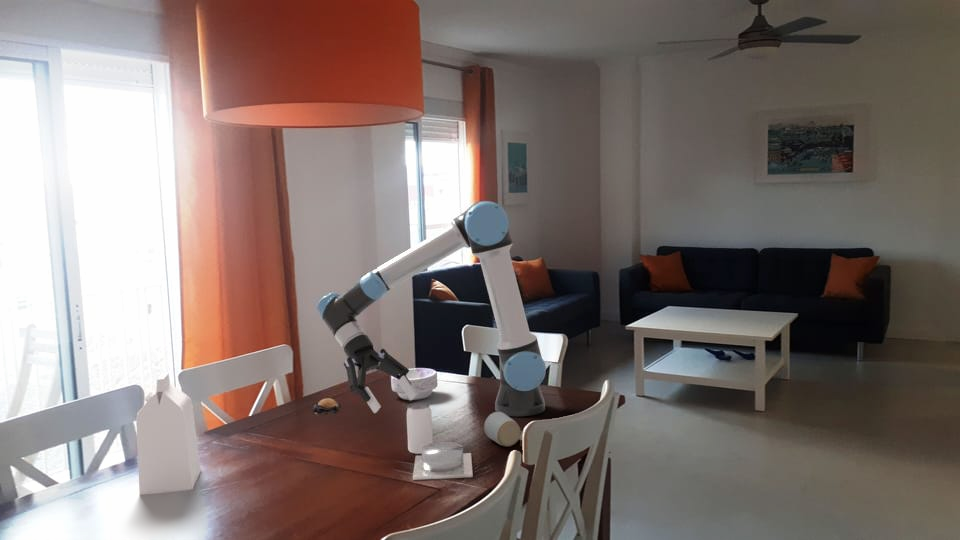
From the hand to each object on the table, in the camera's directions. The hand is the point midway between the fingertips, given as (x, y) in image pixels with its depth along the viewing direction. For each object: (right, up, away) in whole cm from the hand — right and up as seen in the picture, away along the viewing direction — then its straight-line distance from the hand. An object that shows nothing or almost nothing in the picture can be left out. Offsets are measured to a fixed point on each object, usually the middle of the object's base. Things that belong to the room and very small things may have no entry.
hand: (396, 403), depth 196 cm
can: (+7, -12, -3) cm, 14 cm away
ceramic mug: (+29, -11, +1) cm, 31 cm away
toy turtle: (-26, -9, +38) cm, 47 cm away
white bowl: (+1, -7, +49) cm, 49 cm away
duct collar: (+13, -13, -16) cm, 24 cm away
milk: (-52, -16, -19) cm, 57 cm away
